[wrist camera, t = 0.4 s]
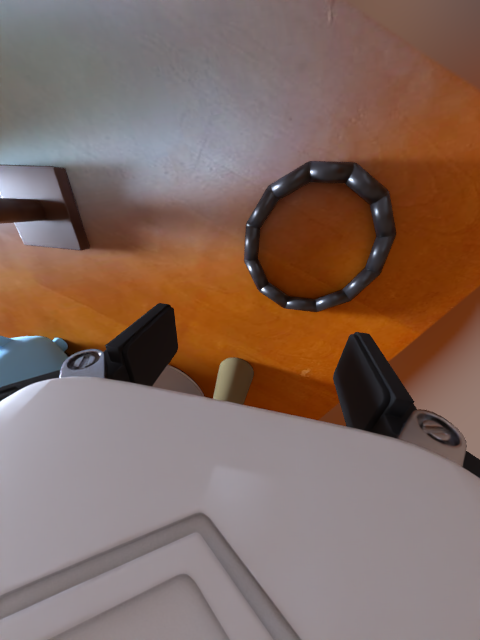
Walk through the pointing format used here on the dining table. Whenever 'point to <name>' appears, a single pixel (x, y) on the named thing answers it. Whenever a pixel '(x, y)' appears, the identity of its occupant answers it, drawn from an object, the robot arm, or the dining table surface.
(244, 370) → the wooden peg doll
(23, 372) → the teapot
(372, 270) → the ring
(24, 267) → the dining table surface
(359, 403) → the robot arm
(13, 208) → the peg
